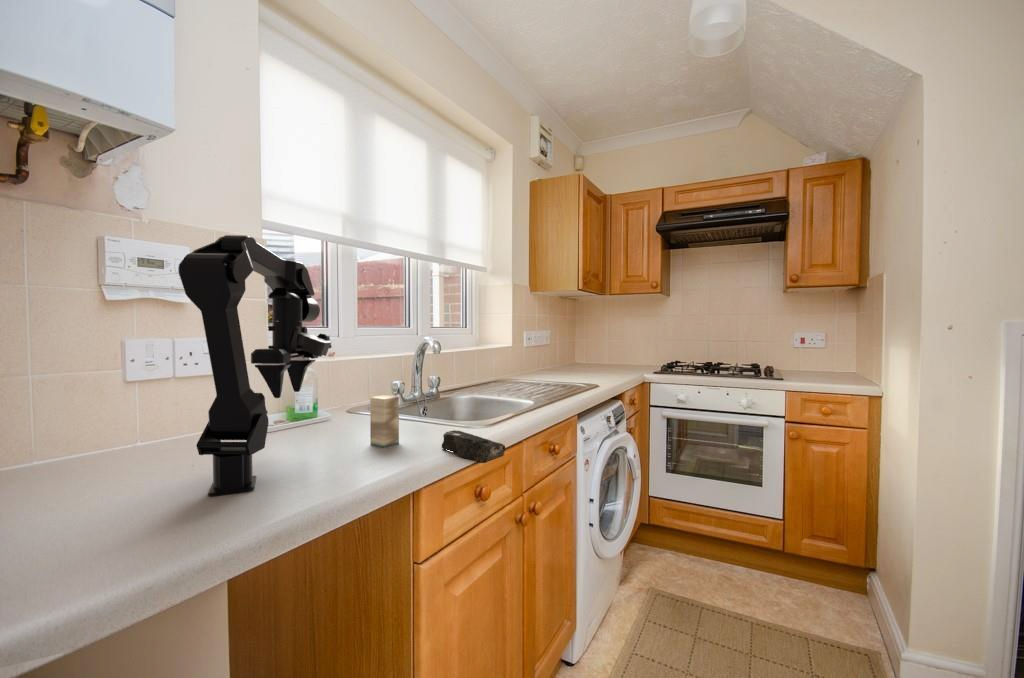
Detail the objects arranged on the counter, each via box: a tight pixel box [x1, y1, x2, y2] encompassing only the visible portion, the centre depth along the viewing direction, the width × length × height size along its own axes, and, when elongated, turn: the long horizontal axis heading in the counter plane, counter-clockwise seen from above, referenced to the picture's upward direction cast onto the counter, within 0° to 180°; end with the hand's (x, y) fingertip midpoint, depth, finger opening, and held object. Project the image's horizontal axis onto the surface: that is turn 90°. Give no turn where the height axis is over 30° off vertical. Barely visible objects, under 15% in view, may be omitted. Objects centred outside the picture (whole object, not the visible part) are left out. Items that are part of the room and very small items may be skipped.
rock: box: [441, 430, 506, 464], centre depth 99 cm, size 8×16×4 cm, turn 55°
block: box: [369, 394, 400, 449], centre depth 105 cm, size 4×4×11 cm
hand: (287, 394), depth 97 cm, fingers open, 9 cm apart
